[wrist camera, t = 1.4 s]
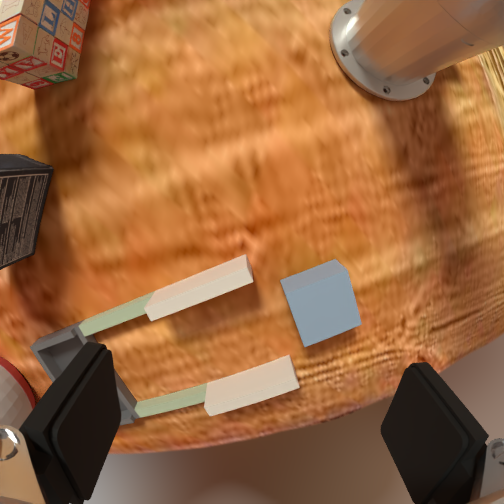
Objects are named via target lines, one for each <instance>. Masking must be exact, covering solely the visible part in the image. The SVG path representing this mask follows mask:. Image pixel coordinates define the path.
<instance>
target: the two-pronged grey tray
mask: <svg viewBox="0 0 504 504" xmlns="http://www.w3.org/2000/svg"><path fill="white" fill-rule="evenodd" d="M252 282H253V276H252V268H251V265H250V263H249V260H248V258H247V256H246V254H245V255H242V256H240V257H237V258H235V259H232V260H230V261H227V262H225V263H223V264H220V265H218V266H215V267H213V268H210V269H208V270H205V271H203V272H201V273H198V274H196V275H193V276H191V277H188V278H186V279H183V280H181V281H178V282H176V283H174V284H171V285H169V286H166V287H164V288H161V289H159V290H156V291H154V292H151V293H149V294H147V295H144V296H142V297H139V298H137V299H134V300H132V301H129V302H127V303H125V304H122V305H120V306H117V307H115V308H112V309H110V310H107V311H105V312H103V313H100V314H98V315H95V316H93V317H90V318H88V319H85V320H83V321H80V322H78V323H76V324H73V325H71V326H68V327H66V328H63V329H61V330H58V331H56V332H54V333H51V334H49V335H46V336H44V337H41V338H39V339H38V340H37V341H36V342H35V343H34V344H33V345H32V346H31V347H30V348H31V350H32V351H33V353H34V354H35V356H36V358H37V359H38V361H39V362H40V364H41V365H42V367H43V368H44V370H45V371H46V373H47V374H48V376H49V377H50V379H51V380H52V382H54V381H55V380H56V379H57V378H58V377H59V376H60V375H61V374H62V372H63V371H64V370H65V369H66V367H67V366H68V365H69V363H70V362H71V361H72V360H73V358H74V357H75V356H76V355H77V353H78V352H79V351H80V350H81V348H82V347H83V346H84V345H85V343H86V342H94V343H97V341H96V339H95V338H94V336H93V333H96V332H99V331H101V330H104V329H107V328H109V327H112V326H114V325H117V324H120V323H122V322H125V321H128V320H130V319H133V318H135V317H138V316H141V315H143V314H146V313H147V315H148V317H149V319H150V321H153V320H156V319H159V318H161V317H164V316H167V315H169V314H172V313H175V312H177V311H180V310H183V309H185V308H188V307H190V306H193V305H196V304H198V303H201V302H203V301H206V300H209V299H211V298H214V297H216V296H219V295H221V294H224V293H226V292H229V291H232V290H234V289H237V288H239V287H242V286H244V285H247V284H249V283H252ZM114 372H115V379H116V386H117V392H118V397H119V403H120V409H121V422H120V425H125V424H130V423H134V421H135V419H136V418H141V417H146V416H150V415H154V414H159V413H163V412H167V411H171V410H175V409H179V408H183V407H187V406H191V405H195V404H198V403H202V402H205V404H204V408H205V410H206V411H207V413H208V414H209V415H210V416H213V415H217V414H220V413H224V412H227V411H231V410H234V409H238V408H241V407H244V406H247V405H251V404H254V403H257V402H260V401H263V400H266V399H269V398H272V397H275V396H278V395H281V394H283V393H286V392H289V391H292V390H295V389H297V388H300V386H299V383H298V379H297V376H296V372H295V368H294V365H293V362H292V360H291V358H290V355H287V356H284V357H281V358H279V359H276V360H273V361H271V362H268V363H265V364H262V365H260V366H257V367H254V368H251V369H248V370H245V371H242V372H239V373H236V374H233V375H230V376H227V377H224V378H221V379H218V380H215V381H212V382H208V383H205V384H202V385H199V386H195V387H192V388H188V389H185V390H181V391H178V392H174V393H170V394H167V395H163V396H159V397H155V398H151V399H148V400H143V401H139V402H137V401H136V399H135V398H134V397H133V395H132V394H131V392H130V391H129V390H128V388H127V387H126V385H125V384H124V383H123V381H122V380H121V378H120V377H119V375H118V374H117V372H116V371H115V369H114Z"/></svg>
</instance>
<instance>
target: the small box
mask: <svg viewBox="0 0 504 504" xmlns="http://www.w3.org/2000/svg"><path fill="white" fill-rule="evenodd" d="M53 170H54V169H53V167H52V166H50V165H46V164H44V163H41V162H38V161H36V160H34V159H31V158H29V157H27V156H24V155H20V154H0V270H1V269H3V268H5V267H7V266H9V265H11V264H14V263H16V262H18V261H20V260H22V259H24V258H27V257H29V256H32V255H34V253H35V247H36V242H37V236H38V231H39V226H40V221H41V217H42V212H43V208H44V204H45V200H46V196H47V192H48V188H49V184H50V181H51V177H52V173H53Z"/></svg>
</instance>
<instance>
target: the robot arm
mask: <svg viewBox="0 0 504 504" xmlns="http://www.w3.org/2000/svg"><path fill="white" fill-rule="evenodd" d="M329 36H330V44H331V48H332V51H333V54H334V56H335V58H336V60H337V62H338V63H339V65H340V66H341V68H342V70H343V71H344V72H345V73H346V74H347V75H348V77H349V78H350V79H351V80H352V81H354V82H355V83H356V84H357V85H358V86H359V87H361V88H362V89H364V90H366V91H367V92H369V93H370V94H373V95H375V96H377V97H379V98H383V99H387V100H390V101H405V100H410V99H413V98H416V97H418V96H420V95H422V94H424V93H425V92H426V91H427V90H428V89H429V88H430V86H431V85H432V83H433V81H434V78H435V75H436V72H438V71H440V70H442V69H445V68H447V67H449V66H452V65H454V64H457V63H459V62H461V61H464V60H466V59H469V58H471V57H474V56H476V55H479V54H481V53H484V52H486V51H489V50H492V49H494V48H497V47H500V46H502V45H504V0H352V1H350V2H347V3H346V4H344V5H343V6H342V7H341V8H340V9H339V10H338V11H337V13H336V14H335V16H334V18H333V20H332V22H331V25H330V30H329ZM341 54H342V55H344V57H343V56H342V55H341ZM383 90H384V91H385V92H384V91H383ZM120 422H121V409H120V403H119V397H118V392H117V386H116V379H115V372H114V365H113V358H112V352H111V351H110V350H107V347H106V345H104V344H99V343H94V342H86V343H85V345H84V346H83V347H82V348H81V350H80V351H79V352H78V353H77V355H76V356H75V357H74V358H73V360H72V361H71V362H70V363H69V365H68V366H67V367H66V369H65V370H64V371H63V372H62V374H61V375H60V376H59V377H58V378H57V379H56V380H55V381H54V382H53V383H52V385H51V386H50V387H49V389H48V390H47V391H46V393H45V394H44V395H43V397H42V398H41V399H40V401H39V402H38V403H37V405H36V406H35V407H34V409H33V410H32V411H31V413H30V414H29V416H28V417H27V418H26V420H25V421H24V423H23V424H22V425H21V427H20V428H19V430H18V429H16V428H14V427H12V426H8V425H0V504H69V503H71V504H83V502H84V500H89V499H90V498H91V495H92V493H93V490H94V487H95V485H96V482H97V480H98V477H99V475H100V472H101V470H102V467H103V465H104V462H105V459H106V457H107V454H108V452H109V450H110V447H111V445H112V442H113V440H114V437H115V435H116V432H117V430H118V428H119V425H120ZM381 434H382V437H383V439H384V441H385V443H386V445H387V447H388V449H389V451H390V453H391V456H392V457H393V460H394V462H395V464H396V466H397V468H398V470H399V472H400V475H401V477H402V479H403V481H404V483H405V485H406V488H407V490H408V492H409V494H410V496H411V498H412V501H413V502H414V503H415V504H504V439H502V438H498V439H494V440H492V441H491V442H490V443H489V444H488V445H486V444H485V441H486V440H487V438H488V437H489V435H488V434H487V433H486V431H485V430H484V429H483V428H482V426H481V425H480V424H479V423H478V421H477V420H476V419H475V418H474V416H473V415H472V414H471V413H470V412H469V410H468V409H467V408H466V407H465V405H464V404H463V403H462V402H461V401H460V400H459V398H458V397H457V396H456V395H455V394H454V392H453V391H452V390H451V389H450V388H449V386H448V385H447V384H446V383H445V382H444V381H443V379H442V378H441V377H440V376H439V375H438V374H437V372H436V371H435V370H434V369H433V368H432V367H431V365H430V364H429V363H427V362H421V363H412V364H411V365H410V366H409V367H408V368H406V369H405V371H404V373H403V376H402V378H401V381H400V383H399V386H398V388H397V391H396V393H395V396H394V398H393V400H392V403H391V405H390V407H389V410H388V412H387V414H386V416H385V418H384V421H383V423H382V425H381Z"/></svg>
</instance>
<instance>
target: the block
mask: <svg viewBox="0 0 504 504" xmlns="http://www.w3.org/2000/svg"><path fill="white" fill-rule="evenodd" d="M280 282H281V285H282V287H283V290H284V293H285V295H286V298H287V301H288V304H289V306H290V309H291V312H292V315H293V317H294V320H295V323H296V326H297V328H298V331H299V334H300V336H301V339H302V342H303V344H304V347H307V346H309V345H312V344H315V343H317V342H320V341H322V340H325V339H327V338H330V337H332V336H335V335H337V334H340V333H342V332H345V331H347V330H350V329H352V328H354V327H357V326H359V325H361V320H360V316H359V312H358V308H357V304H356V300H355V296H354V292H353V289H352V285H351V281H350V278H349V274H348V271H347V269H346V268H345V267H344V266H343V265H341V264H340V263H339V262H338V261H337V260H336V259H334V260H331V261H329V262H326V263H324V264H321V265H319V266H316V267H313V268H311V269H308V270H306V271H303V272H300V273H298V274H295V275H293V276H290V277H287V278H285V279H282V280H280Z"/></svg>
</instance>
